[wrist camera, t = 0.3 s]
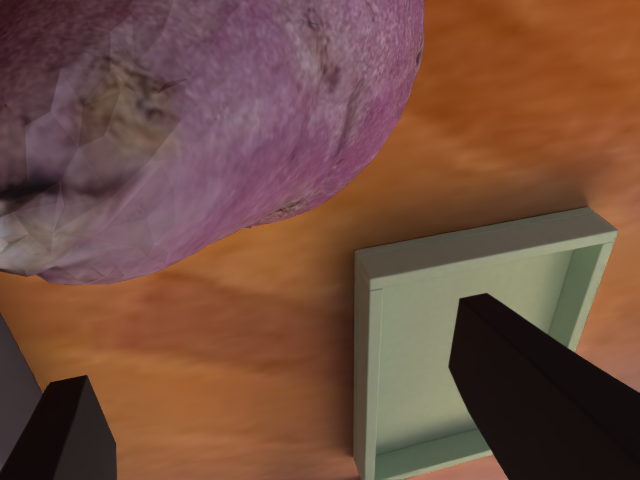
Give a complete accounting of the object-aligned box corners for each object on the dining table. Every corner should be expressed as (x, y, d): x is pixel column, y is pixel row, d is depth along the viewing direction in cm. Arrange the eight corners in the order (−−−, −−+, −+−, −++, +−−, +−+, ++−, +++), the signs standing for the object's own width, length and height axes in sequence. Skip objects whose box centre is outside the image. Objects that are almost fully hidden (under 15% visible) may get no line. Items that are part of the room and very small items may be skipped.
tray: (525, 413, 33) (543, 440, 31) (353, 458, 31) (364, 490, 29) (588, 206, 24) (619, 229, 23) (354, 249, 22) (369, 279, 21)
